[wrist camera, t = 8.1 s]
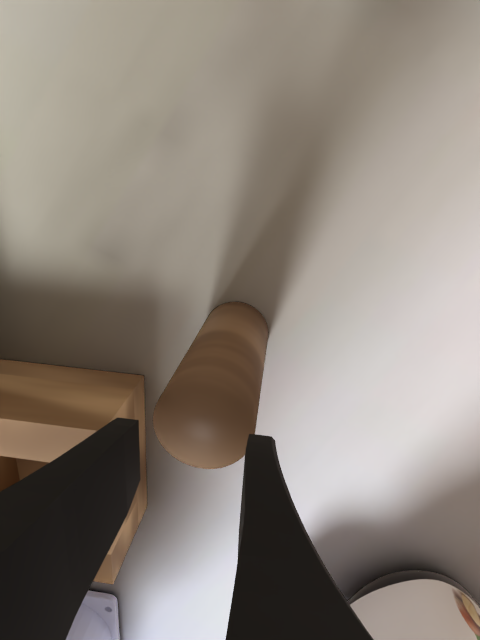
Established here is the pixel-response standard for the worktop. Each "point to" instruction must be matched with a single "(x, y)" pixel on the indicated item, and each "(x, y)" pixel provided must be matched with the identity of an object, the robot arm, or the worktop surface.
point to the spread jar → (417, 608)
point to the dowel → (215, 390)
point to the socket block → (68, 428)
